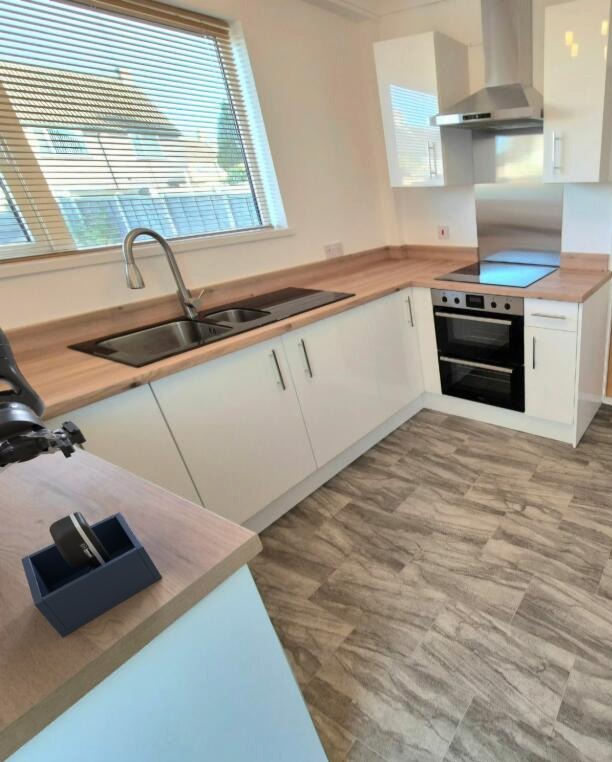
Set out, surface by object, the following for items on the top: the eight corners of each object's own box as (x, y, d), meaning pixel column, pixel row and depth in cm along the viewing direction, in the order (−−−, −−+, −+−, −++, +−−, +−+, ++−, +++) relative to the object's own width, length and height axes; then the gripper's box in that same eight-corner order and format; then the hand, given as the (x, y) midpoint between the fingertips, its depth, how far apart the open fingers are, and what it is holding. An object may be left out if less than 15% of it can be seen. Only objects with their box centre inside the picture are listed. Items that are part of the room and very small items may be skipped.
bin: (62, 637, 58) (34, 605, 55) (46, 590, 65) (20, 559, 62) (162, 577, 66) (143, 546, 63) (138, 541, 73) (120, 511, 70)
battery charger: (82, 576, 66) (41, 522, 61) (113, 560, 69) (76, 506, 64) (93, 600, 62) (51, 543, 57) (125, 581, 65) (87, 525, 60)
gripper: (79, 433, 80) (100, 462, 70) (-35, 473, 70) (-29, 514, 60) (59, 398, 76) (77, 423, 67) (-65, 435, 66) (-63, 471, 57)
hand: (27, 466), depth 64 cm, fingers open, 8 cm apart
